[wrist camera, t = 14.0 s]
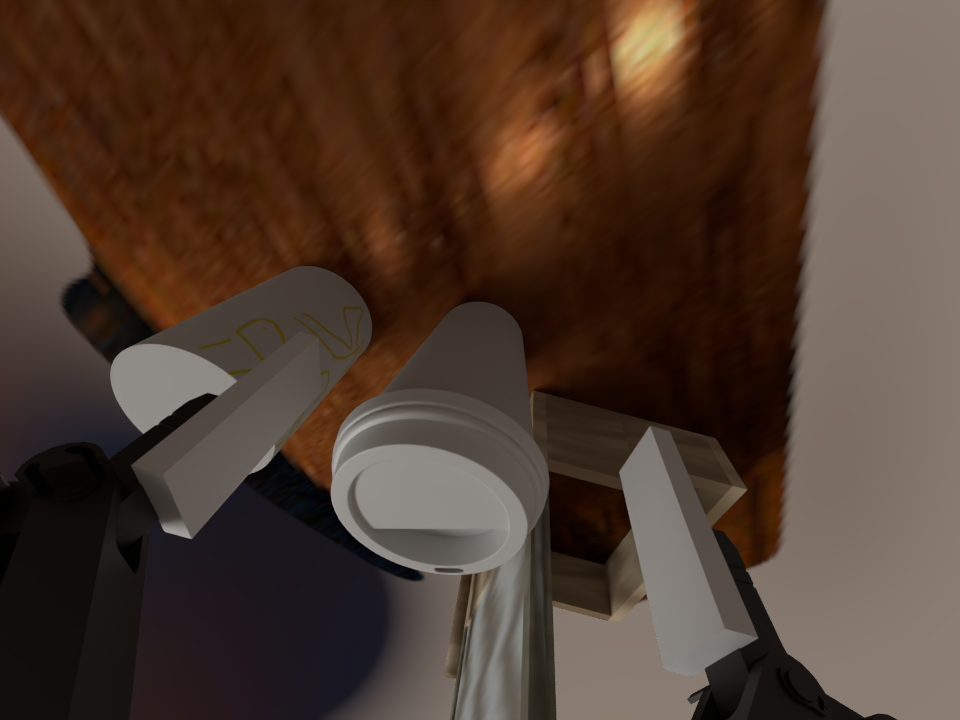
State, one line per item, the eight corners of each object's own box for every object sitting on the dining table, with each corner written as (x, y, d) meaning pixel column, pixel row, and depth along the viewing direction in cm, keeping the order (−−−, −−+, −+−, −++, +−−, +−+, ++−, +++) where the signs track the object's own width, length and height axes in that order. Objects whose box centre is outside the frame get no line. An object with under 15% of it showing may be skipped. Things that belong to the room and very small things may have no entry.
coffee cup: (413, 377, 29) (316, 554, 16) (425, 266, 24) (300, 396, 11) (525, 404, 29) (516, 605, 16) (561, 297, 24) (588, 465, 11)
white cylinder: (380, 364, 29) (295, 481, 19) (289, 360, 30) (162, 468, 20) (360, 266, 25) (238, 348, 15) (256, 265, 26) (74, 340, 16)
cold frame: (517, 386, 28) (478, 852, 10) (715, 438, 28) (1068, 1011, 9) (466, 534, 39) (402, 884, 21) (608, 571, 39) (673, 958, 20)
